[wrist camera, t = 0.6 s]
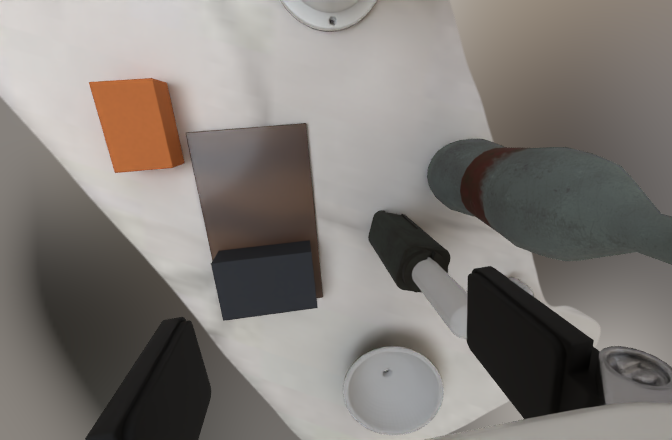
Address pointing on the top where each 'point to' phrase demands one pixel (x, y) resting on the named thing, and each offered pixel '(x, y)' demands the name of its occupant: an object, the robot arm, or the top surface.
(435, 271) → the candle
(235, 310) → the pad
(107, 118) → the loose pad
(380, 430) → the dish
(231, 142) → the board
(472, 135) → the top surface
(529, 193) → the bottle
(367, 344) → the top surface
